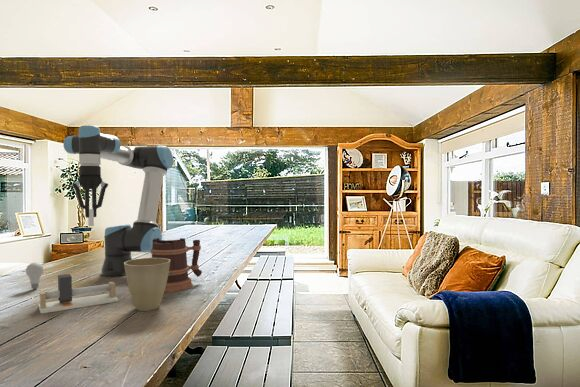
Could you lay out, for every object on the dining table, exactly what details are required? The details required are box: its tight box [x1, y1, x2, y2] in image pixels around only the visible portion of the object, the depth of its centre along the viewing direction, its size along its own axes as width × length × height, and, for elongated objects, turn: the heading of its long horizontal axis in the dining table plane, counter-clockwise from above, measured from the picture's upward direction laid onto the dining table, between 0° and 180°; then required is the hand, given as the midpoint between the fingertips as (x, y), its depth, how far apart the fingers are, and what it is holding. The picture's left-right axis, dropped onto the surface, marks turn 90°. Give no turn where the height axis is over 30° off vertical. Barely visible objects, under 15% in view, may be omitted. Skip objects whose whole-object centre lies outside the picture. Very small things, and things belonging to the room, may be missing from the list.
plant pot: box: [124, 257, 170, 312], centre depth 139 cm, size 15×15×16 cm
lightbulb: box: [25, 262, 44, 290], centre depth 167 cm, size 6×6×11 cm
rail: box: [38, 281, 119, 314], centre depth 145 cm, size 24×10×6 cm, turn 125°
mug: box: [150, 237, 203, 293], centre depth 169 cm, size 18×23×20 cm
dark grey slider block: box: [57, 273, 73, 303], centre depth 142 cm, size 4×5×9 cm, turn 35°
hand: (91, 225), depth 159 cm, fingers closed
